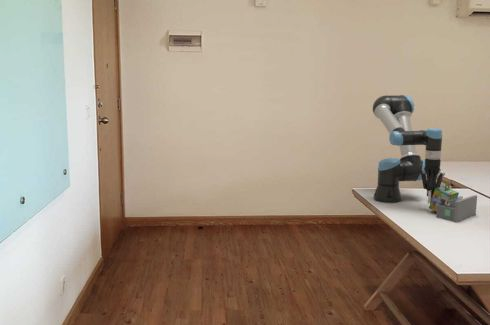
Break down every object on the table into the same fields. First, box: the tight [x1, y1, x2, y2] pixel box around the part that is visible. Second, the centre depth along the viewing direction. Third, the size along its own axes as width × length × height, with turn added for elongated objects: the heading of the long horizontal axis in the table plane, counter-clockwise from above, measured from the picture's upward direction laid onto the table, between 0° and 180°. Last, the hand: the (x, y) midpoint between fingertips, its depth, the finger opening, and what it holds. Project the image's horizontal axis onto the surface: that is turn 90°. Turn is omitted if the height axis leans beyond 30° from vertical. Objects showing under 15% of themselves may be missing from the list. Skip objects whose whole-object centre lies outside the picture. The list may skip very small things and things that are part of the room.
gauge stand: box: [435, 194, 478, 223], centre depth 230 cm, size 11×20×10 cm, turn 128°
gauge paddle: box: [445, 195, 464, 208], centre depth 230 cm, size 1×16×8 cm, turn 128°
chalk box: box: [428, 182, 460, 213], centre depth 234 cm, size 9×9×15 cm
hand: (430, 202), depth 241 cm, fingers closed
